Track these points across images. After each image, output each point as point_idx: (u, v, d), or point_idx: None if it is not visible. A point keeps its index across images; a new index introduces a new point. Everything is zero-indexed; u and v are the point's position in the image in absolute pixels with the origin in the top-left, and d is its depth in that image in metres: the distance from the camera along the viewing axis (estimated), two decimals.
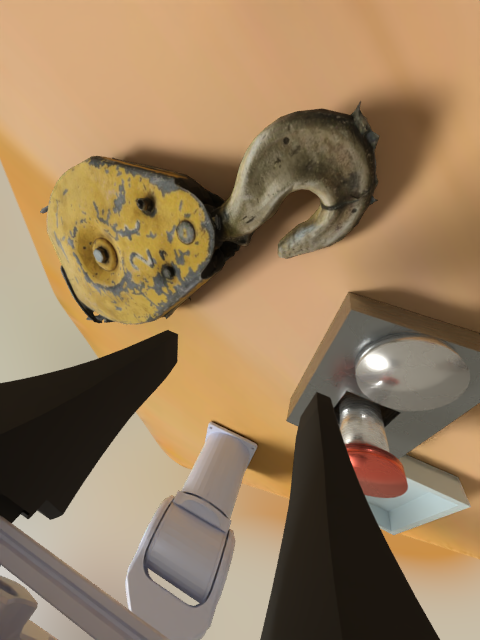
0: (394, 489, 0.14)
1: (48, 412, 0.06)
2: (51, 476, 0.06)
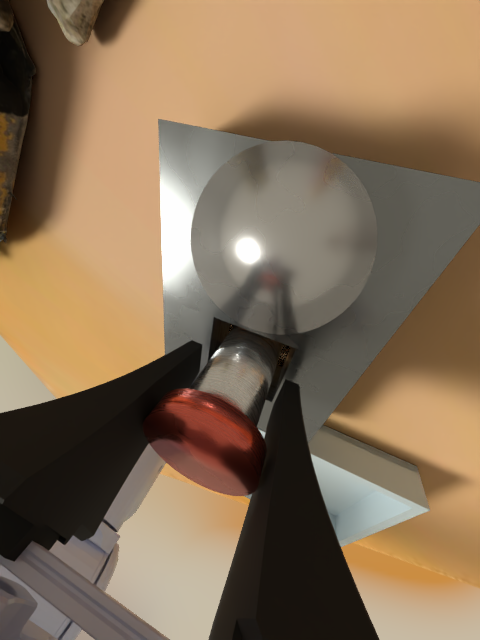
0: (241, 478, 0.07)
1: (89, 436, 0.05)
2: (87, 499, 0.06)
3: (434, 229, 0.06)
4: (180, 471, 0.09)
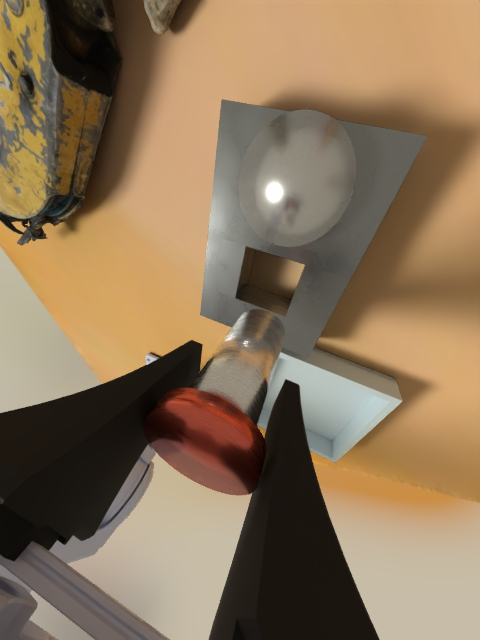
0: (241, 477, 0.07)
1: (89, 436, 0.05)
2: (87, 499, 0.06)
3: (390, 164, 0.10)
4: (180, 470, 0.09)
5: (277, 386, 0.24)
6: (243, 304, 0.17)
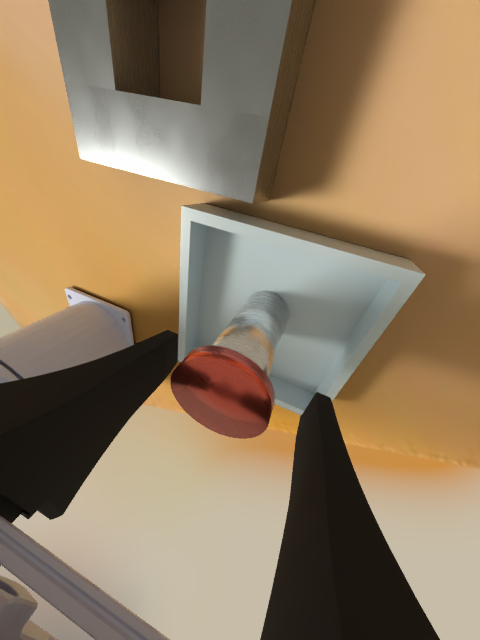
0: (254, 417, 0.08)
1: (48, 412, 0.06)
2: (51, 476, 0.06)
3: None
4: (201, 422, 0.10)
5: (229, 309, 0.16)
6: (131, 101, 0.09)
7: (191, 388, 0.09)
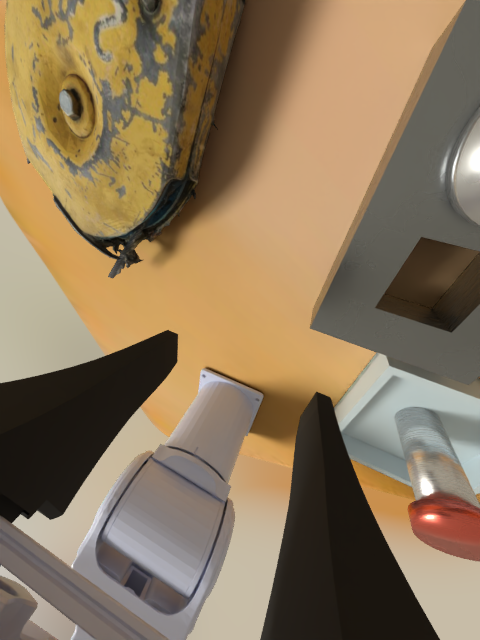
0: None
1: (48, 412, 0.06)
2: (51, 476, 0.06)
3: None
4: (426, 542, 0.14)
5: (378, 411, 0.20)
6: (386, 316, 0.13)
7: (440, 529, 0.12)
